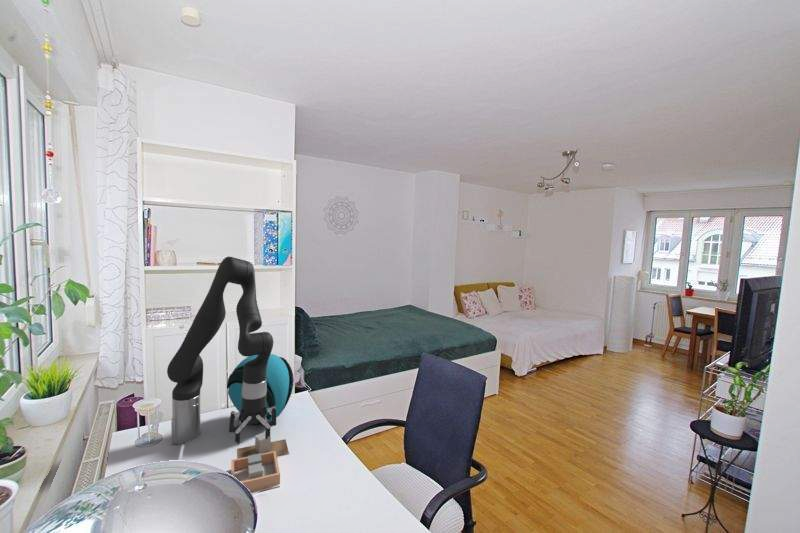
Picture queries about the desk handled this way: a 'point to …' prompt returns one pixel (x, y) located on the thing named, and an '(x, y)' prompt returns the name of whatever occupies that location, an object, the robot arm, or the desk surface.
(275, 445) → the lid board
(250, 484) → the bin
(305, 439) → the desk surface
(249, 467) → the stone
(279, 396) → the helmet
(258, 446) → the pale grey cube
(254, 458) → the stone
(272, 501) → the desk surface
